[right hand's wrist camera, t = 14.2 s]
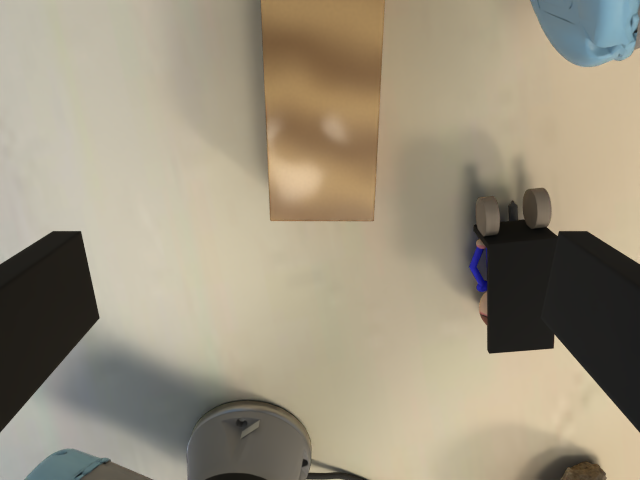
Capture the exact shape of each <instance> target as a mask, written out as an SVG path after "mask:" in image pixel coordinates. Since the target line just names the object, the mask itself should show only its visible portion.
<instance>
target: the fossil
mask: <svg viewBox="0 0 640 480" xmlns="http://www.w3.org/2000/svg"><path fill="white" fill-rule="evenodd" d="M561 480H606V473H605V472H604V471H603V470H602V469H601V468H600V466H599V465H597V464H591V463H589V462H582V463H579V464H578V465H574V466H573V467H571V468H570V467H568V468H567V469H566V471H565V473H564V475H563V477H562V478H561Z"/></svg>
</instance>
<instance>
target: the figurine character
mask: <svg viewBox="0 0 640 480" xmlns="http://www.w3.org/2000/svg"><path fill="white" fill-rule="evenodd" d="M523 214H524V219H525V220H518V211H517V205H516V204H515V203H514V202H513V201H512V202H511V203H510V205H509V221H506V222H500V213H499V207H498V203H497V201H496V199H495V197H494V196H488V197H479V198H478V199H477V202H476V223H477V225H474V232H475V233H476V235H477V236H478V237H479V239H478V240H477V242H476V245H477V248H476V250H475V253H474V255H473V258H472V260H471V263H470V265H469V268H470V269H471V271H472V273H473V275H474V277H475V279H476V281H477V282H478V284H477V290H478V291H480V292H484V291H486V292H485V293H484V294H483V296H482V298H481V300H480V303H479V312H480V315H481V318H482V320H483V321H484V322H485V324H486V325H487V350H488V352H489V354H490V353H502V352H515V351H527V350H540V349H552V348H554V333H553V332H552V331H551V330H550V328H549V327H548V326H547V325H546V324H545V323H544V321H543V320H542V319H541V313H542V309H543V304H544V299H545V295H546V290H547V285H548V281H549V276H550V271H551V267H552V262H553V257H554V253H555V248H556V243H557V239H558V236H557V235H555V234H554V233H553V232H552V231H550V230H549V229H548V228H547V226H548V225H549V223H550V219H551V201H550V197H549V194H548V192H547V191H546V190H545V189H544V188H536V189H528V190H527V191H526V192H525V194H524V198H523ZM485 248H486V262H487V281H484V279H483V277H482V276H481V274H480V272H479V270H478V268H477V265H478V262H479V260H480V257H481V255H482V252H483V249H485Z"/></svg>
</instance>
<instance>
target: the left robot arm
mask: <svg viewBox="0 0 640 480" xmlns="http://www.w3.org/2000/svg"><path fill="white" fill-rule="evenodd" d="M530 1H531V4H532V6H533V9H534V11H535V14H536V16H537V18H538V20H539V23H540V25H541V27H542V29H543V31H544V33H545V34H546V36H547V38H548V39H549V41H550V42H551V44H552V45H553V47H554V48H555V49H556V50H557V51H558V52H559V53H560V54H561V55H562V56H563V57H564V58H565V59H567V60H568V61H570V62H571V63H573V64H575V65H578V66H582V67H595V66H598V65H601V64H604V63H606V62H609V61H611V60H617V61H621V60H624V59H626V58H627V57H629V56H630V55H631V54H632V53H633V50H635V49H638V48H640V0H530Z"/></svg>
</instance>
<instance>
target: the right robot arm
mask: <svg viewBox="0 0 640 480" xmlns="http://www.w3.org/2000/svg"><path fill="white" fill-rule="evenodd" d="M98 319H99V313H98V309H97V304H96V299H95V295H94V290H93V285H92V281H91V276H90V271H89V267H88V262H87V257H86V253H85V248H84V243H83V239H82V234H81V231H53V232H51V233H50V234H48V235H46V236H45V237H43V238H42V239H40V240H38V241H37V242H35V243H34V244H32V245H30V246H29V247H27V248H26V249H24V250H22V251H21V252H19V253H18V254H16V255H14V256H13V257H11V258H10V259H8V260H6V261H5V262H3V263H2V264H0V432H1V431H2V430H3V429H4V428H5V426H6V425H7V424H8V423H9V422H10V421H11V419H12V418H13V417H14V416H15V415H16V414H17V413H18V411H19V410H20V409H21V408H22V407H23V406H24V404H25V403H26V402H27V401H28V400H29V399H30V398H31V396H32V395H33V394H34V393H35V392H36V391H37V389H38V388H39V387H40V386H41V385H42V384H43V383H44V381H45V380H46V379H47V378H48V377H49V376H50V374H51V373H52V372H53V371H54V370H55V369H56V368H57V366H58V365H59V364H60V363H61V362H62V361H63V360H64V358H65V357H66V356H67V355H68V354H69V353H70V351H71V350H72V349H73V348H74V347H75V346H76V345H77V343H78V342H79V341H80V340H81V339H82V338H83V336H84V335H85V334H86V333H87V332H88V331H89V330H90V328H91V327H92V326H93V325H94V324H95V323H96V321H97V320H98ZM541 319H542V320H543V321H544V323H545V324H546V325H547V326H548V327H549V328H550V330H551V331H552V332H553V333H554V334H555V335H556V336H557V338H558V339H559V340H560V341H561V342H562V343H563V345H564V346H565V347H566V348H567V349H568V350H569V351H570V353H571V354H572V355H573V356H574V357H575V358H576V360H577V361H578V362H579V363H580V364H581V365H582V366H583V368H584V369H585V370H586V371H587V372H588V373H589V374H590V376H591V377H592V378H593V379H594V380H595V381H596V383H597V384H598V385H599V386H600V387H601V388H602V389H603V391H604V392H605V393H606V394H607V395H608V396H609V398H610V399H611V400H612V401H613V402H614V403H615V404H616V406H617V407H618V408H619V409H620V410H621V411H622V413H623V414H624V415H625V416H626V417H627V418H628V419H629V421H630V422H631V423H632V424H633V425H634V426H635V428H636V429H637V430H638V431H639V432H640V264H638V263H637V262H635V261H634V260H632V259H630V258H629V257H627V256H626V255H624V254H622V253H621V252H619V251H618V250H616V249H614V248H613V247H611V246H610V245H608V244H606V243H605V242H603V241H602V240H600V239H598V238H597V237H595V236H594V235H592V234H590V233H589V232H587V231H559V234H558V239H557V243H556V248H555V253H554V257H553V262H552V267H551V271H550V276H549V281H548V285H547V290H546V295H545V299H544V304H543V309H542V313H541ZM310 466H311V441H310V438H309V435H308V433H307V431H306V429H305V428H304V426H303V425H302V424H301V423H300V421H299V420H298V419H296V418H295V417H294V416H293V415H292V414H290V413H289V412H287V411H285V410H283V409H282V408H279V407H277V406H275V405H271V404H268V403H264V402H258V401H236V402H231V403H226V404H223V405H220V406H218V407H216V408H214V409H212V410H210V411H209V412H208V413H206V414H205V415H204V416H203V417H202V418H201V419H200V420H199V421H198V422H197V424H196V425H195V427H194V429H193V432H192V434H191V437H190V440H189V443H188V447H187V476H188V480H306V479H321V480H324V479H344V480H364V479H362V478H360V477H357V476H354V475H350V474H346V473H341V472H333V473H308V472H309V469H310ZM24 480H152V479H150V478H148V477H145V476H143V475H141V474H138V473H136V472H134V471H131V470H129V469H127V468H124V467H122V466H120V465H118V464H115V463H113V462H111V460H110V459H109V458H98V457H95V456H92V455H90V454H87V453H84V452H81V451H78V450H75V449H63V450H60V451H57V452H55V453H53V454H51V455H50V456H49V457H47V458H46V459H45V460H43V461H42V462H41V463H40V464H39V465H38V466H37V467H36V468H35V469H34V470H33V471H32V472H31V473H30V474H29V475H28V476H27V477H26V478H25V479H24Z"/></svg>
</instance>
